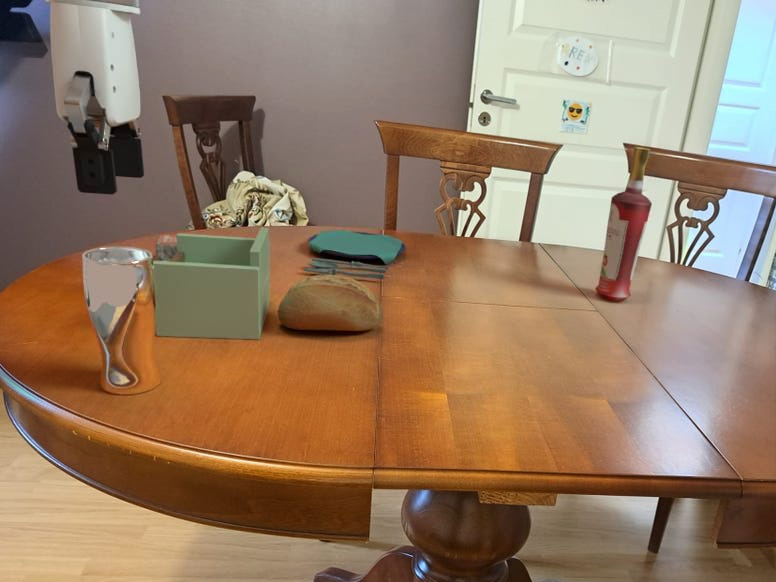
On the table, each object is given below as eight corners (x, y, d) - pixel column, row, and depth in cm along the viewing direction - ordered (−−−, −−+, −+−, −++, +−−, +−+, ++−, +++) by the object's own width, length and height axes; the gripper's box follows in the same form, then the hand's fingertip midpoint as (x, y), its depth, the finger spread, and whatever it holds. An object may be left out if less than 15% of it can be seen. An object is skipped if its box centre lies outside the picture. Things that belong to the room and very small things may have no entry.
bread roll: (384, 343, 95) (388, 290, 91) (275, 340, 91) (275, 284, 88) (379, 319, 103) (382, 269, 100) (279, 315, 100) (279, 264, 96)
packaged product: (152, 244, 109) (156, 229, 117) (154, 272, 111) (158, 256, 119) (266, 246, 115) (262, 232, 124) (267, 273, 117) (263, 257, 126)
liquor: (586, 291, 130) (614, 144, 119) (618, 292, 133) (649, 147, 122) (603, 304, 124) (635, 149, 113) (637, 304, 127) (671, 153, 116)
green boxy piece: (156, 336, 88) (149, 247, 83) (182, 297, 102) (177, 219, 97) (259, 339, 91) (258, 254, 86) (270, 301, 105) (269, 226, 100)
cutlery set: (410, 246, 147) (411, 236, 146) (393, 285, 119) (394, 273, 118) (320, 235, 146) (320, 225, 145) (282, 273, 119) (282, 260, 118)
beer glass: (171, 370, 79) (162, 248, 73) (155, 397, 73) (144, 265, 67) (108, 368, 78) (93, 243, 72) (86, 396, 71) (68, 261, 66)
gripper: (79, -6, 67) (100, 168, 73) (1, -26, 51) (36, 197, 58) (160, 4, 68) (173, 174, 75) (108, -13, 53) (130, 203, 60)
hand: (113, 184), depth 66 cm, fingers open, 9 cm apart
